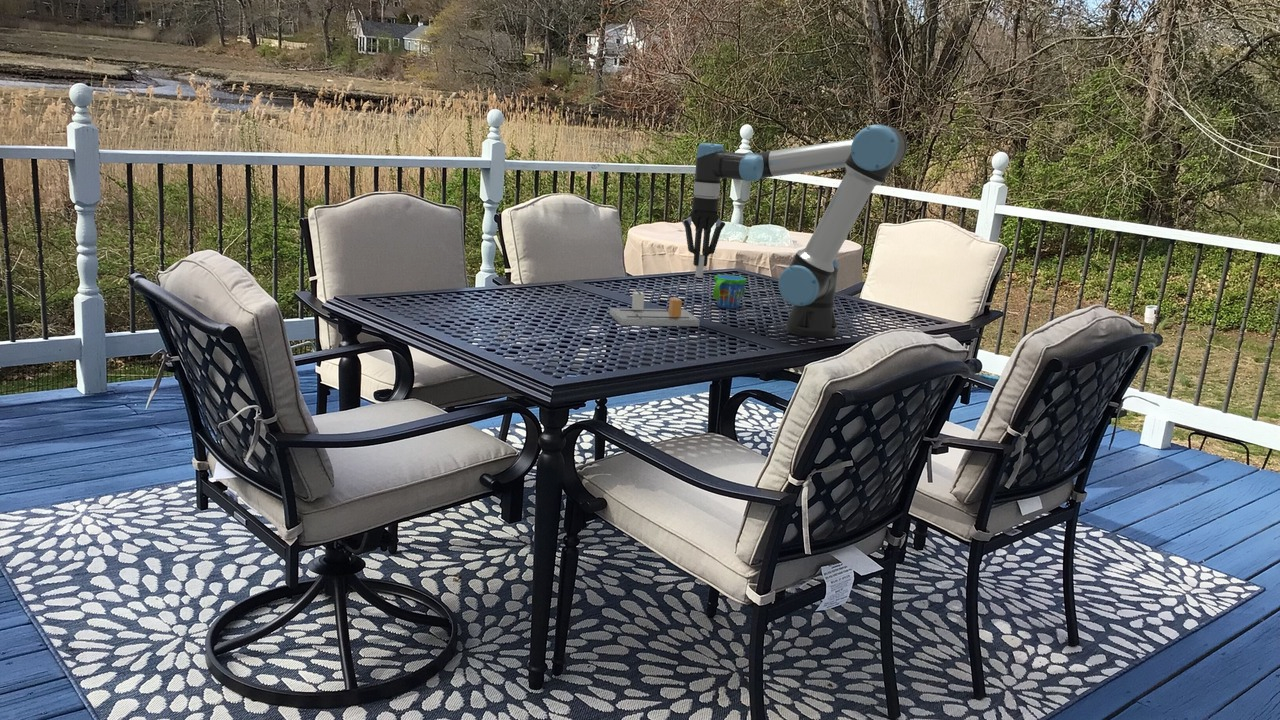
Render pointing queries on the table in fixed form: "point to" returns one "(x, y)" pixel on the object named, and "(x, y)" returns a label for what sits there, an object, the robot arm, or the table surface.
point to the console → (652, 317)
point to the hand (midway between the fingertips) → (698, 276)
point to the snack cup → (729, 290)
